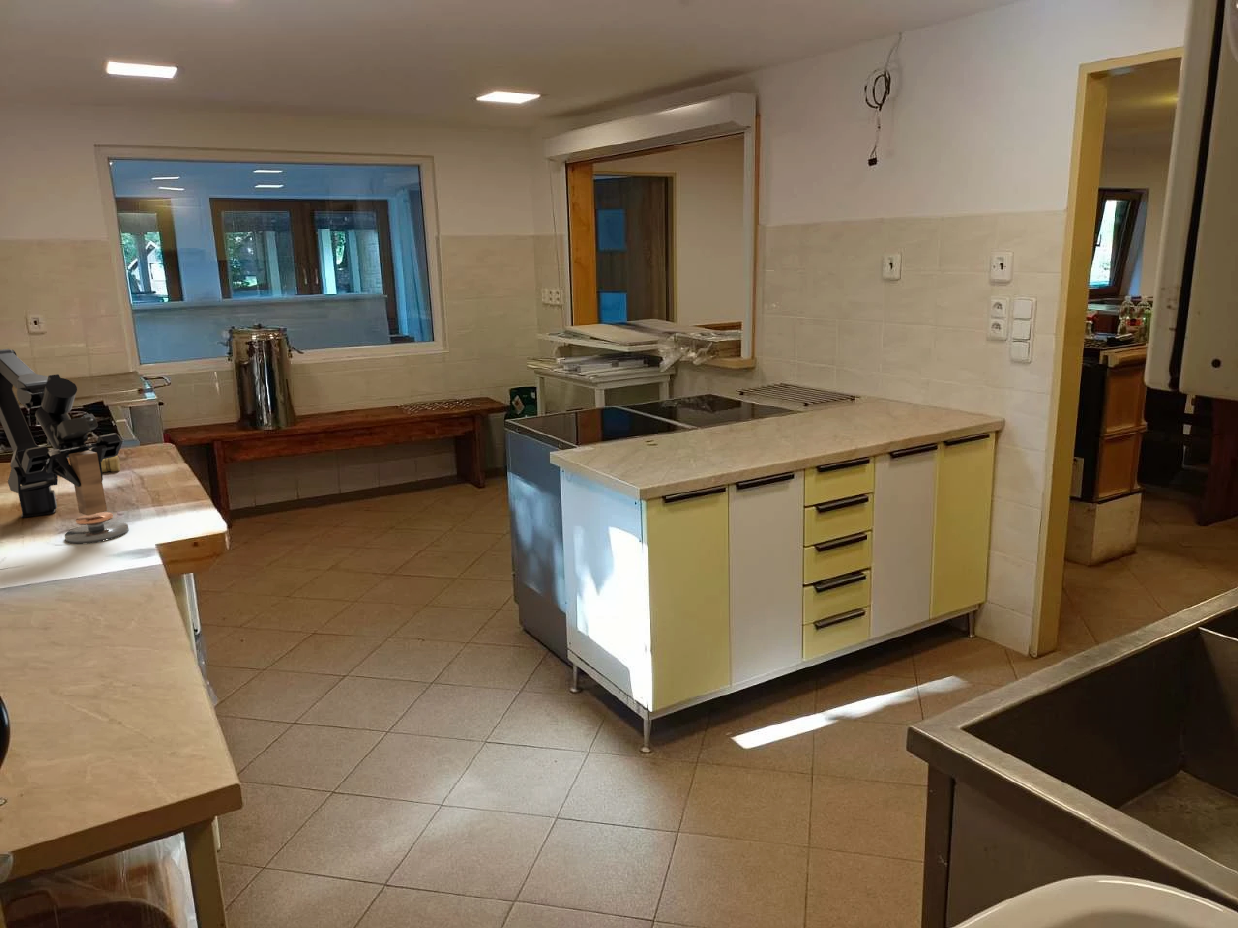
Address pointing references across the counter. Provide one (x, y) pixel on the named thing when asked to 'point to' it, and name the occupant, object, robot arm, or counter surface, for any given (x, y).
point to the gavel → (110, 464)
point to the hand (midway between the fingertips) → (90, 483)
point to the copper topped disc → (95, 529)
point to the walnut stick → (88, 483)
